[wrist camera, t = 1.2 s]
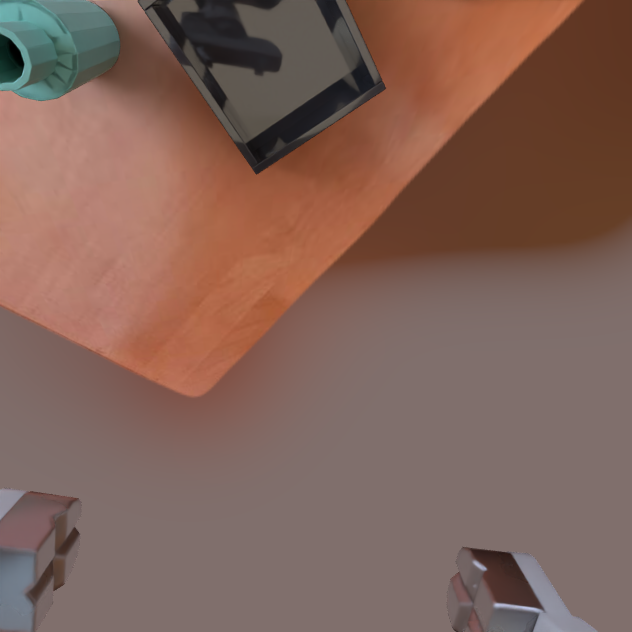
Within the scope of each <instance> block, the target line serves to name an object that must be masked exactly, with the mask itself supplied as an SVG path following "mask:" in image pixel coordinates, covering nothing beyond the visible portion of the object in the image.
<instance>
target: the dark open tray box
mask: <svg viewBox="0 0 632 632" xmlns="http://www.w3.org/2000/svg"><path fill="white" fill-rule="evenodd" d="M138 3H139V4H140V6H141V7H142V9H143V10H144V11H145V13H146V15H147V16H148V17H149V19H150V20H151V22H152V23H153V25H154V26H155V28H156V29H157V31H158V32H159V34H160V35H161V36H162V38H163V39H164V41H165V42H166V44H167V45H168V47H169V48H170V50H171V51H172V52H173V54H174V55H175V57H176V58H177V60H178V61H179V63H180V64H181V66H182V67H183V69H184V70H185V71H186V73H187V74H188V76H189V77H190V79H191V80H192V82H193V83H194V85H195V86H196V88H197V89H198V90H199V92H200V93H201V95H202V96H203V98H204V99H205V101H206V102H207V104H208V105H209V106H210V108H211V109H212V111H213V112H214V114H215V115H216V117H217V118H218V120H219V121H220V123H221V124H222V125H223V127H224V128H225V130H226V131H227V133H228V134H229V136H230V137H231V139H232V140H233V141H234V143H235V144H236V146H237V147H238V149H239V150H240V152H241V153H242V155H243V156H244V158H245V159H246V160H247V162H248V163H249V165H250V166H251V167H252V169H253V171H254V172H255V174H256V175H257V174H258V173H260V172H261V171H263V170H264V169H266V168H267V167H269V166H271V165H272V164H274V163H275V162H277V161H278V160H280V159H281V158H283V157H284V156H286V155H287V154H289V153H290V152H292V151H293V150H295V149H296V148H298V147H299V146H301V145H302V144H304V143H305V142H307V141H308V140H310V139H311V138H313V137H314V136H316V135H317V134H319V133H320V132H322V131H323V130H325V129H326V128H328V127H329V126H331V125H332V124H334V123H335V122H337V121H338V120H340V119H341V118H343V117H344V116H346V115H347V114H349V113H350V112H352V111H353V110H355V109H356V108H358V107H359V106H361V105H362V104H364V103H365V102H367V101H368V100H370V99H371V98H373V97H374V96H376V95H377V94H379V93H380V92H382V91H383V90H385V89H386V87H385V85H384V83H383V81H382V78H381V76H380V74H379V72H378V70H377V68H376V65H375V63H374V61H373V59H372V57H371V54H370V52H369V50H368V48H367V46H366V44H365V41H364V39H363V37H362V35H361V33H360V30H359V28H358V26H357V24H356V22H355V20H354V17H353V15H352V13H351V11H350V9H349V6H348V4H347V2H346V0H138Z"/></svg>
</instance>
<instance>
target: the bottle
mask: <svg viewBox="0 0 632 632" xmlns="http://www.w3.org/2000/svg"><path fill="white" fill-rule="evenodd" d="M119 52H120V39H119V34H118V31H117V29H116V26H115V25H114V23H113V21H112V20H111V18H110V17H109V16H108V14H107V13H106V12H105V11H104V10H102V9H101V8H100V7H99V6H97V5H95V4H94V3H91V2H89V1H86V0H0V90H1V91H10V90H11V91H13V92H14V93H16V94H18V95H19V96H21V97H24V98H29V99H33V100H38V101H45V100H51V99H56V98H59V97H61V96H63V95H65V94H67V93H68V92H70V91H72V90H74V89H76V88H78V87H79V86H81V85H83V84H85V83H87V82H89V81H91V80H92V79H94V78H96V77H98V76H100V75H102V74H103V73H105V72H106V71H108V70H109V69H110V68H111V67H113V65H114V64H115V63H116V61H117V59H118V56H119Z"/></svg>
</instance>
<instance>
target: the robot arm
mask: <svg viewBox="0 0 632 632" xmlns="http://www.w3.org/2000/svg"><path fill="white" fill-rule="evenodd" d="M80 517H81V501H80V500H79V498H73V497H66V496H59V495H53V494H46V493H40V492H33V491H30V492H28V491H24V490H17V489H10V488H4V489H1V490H0V632H36V630H37V629H38V627H39V626H40V624H41V622H42V621H43V619H44V617H45V616H46V614H47V612H48V611H49V609H50V607H51V605H52V604H53V591H55V590H56V589H58V588H59V587H61V586H63V585H64V584H65V582H66V580H67V579H68V577H69V575H70V573H71V571H72V568H73V566H74V563H75V560H76V558H77V554H78V549H79V544H80V533H79V532H78V531H77V529H76V528H75V524H76V523H77V521H78V520H79V518H80ZM456 564H457V567H458V569H459V572H458V573H457V574H456V575H455V576H453V577H452V578H451V579H450V584H449V587H448V591H447V609H448V615H449V619H450V622H451V625H452V628H453V629H454V630H455V631H456V632H598V631H597V630H595V629H594V628H593V627H591V626H590V625H589V624H587V623H586V622H585V621H584V620H582V619H581V618H579V617H574V616H572V615H571V614H570V612H569V611H568V609H567V608H566V606H565V604H564V603H563V601H562V600H561V598H560V597H559V595H558V594H557V592H556V590H555V589H554V587H553V586H552V584H551V583H550V581H549V579H548V578H547V576H546V575H545V573H544V572H543V570H542V568H541V567H540V565H539V564H538V562H537V561H536V559H535V558H534V557H533V556H532V555H530V554H528V553H517V552H501V551H493V550H485V549H476V548H468V547H462V548H461V550H460V551H459V553H458V556H457V559H456Z"/></svg>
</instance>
